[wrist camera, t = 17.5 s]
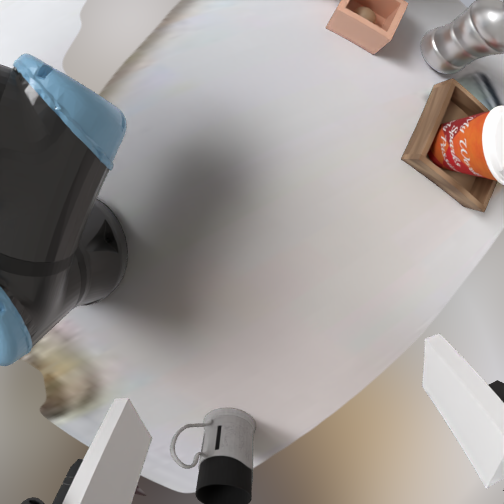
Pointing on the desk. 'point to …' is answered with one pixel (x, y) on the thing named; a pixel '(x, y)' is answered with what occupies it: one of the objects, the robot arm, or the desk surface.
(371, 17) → the cork ball
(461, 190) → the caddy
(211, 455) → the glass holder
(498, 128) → the coffee cup
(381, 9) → the planter
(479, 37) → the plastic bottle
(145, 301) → the desk surface
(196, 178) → the desk surface
